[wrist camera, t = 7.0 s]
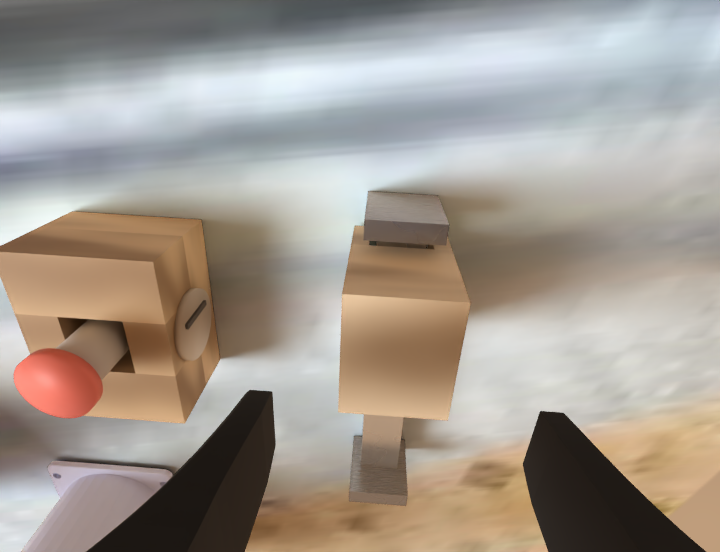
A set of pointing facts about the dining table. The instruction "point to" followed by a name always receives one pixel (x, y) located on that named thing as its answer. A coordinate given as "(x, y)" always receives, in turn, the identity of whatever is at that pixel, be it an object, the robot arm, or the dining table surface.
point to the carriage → (401, 330)
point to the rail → (380, 433)
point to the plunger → (72, 369)
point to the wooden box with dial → (122, 303)
